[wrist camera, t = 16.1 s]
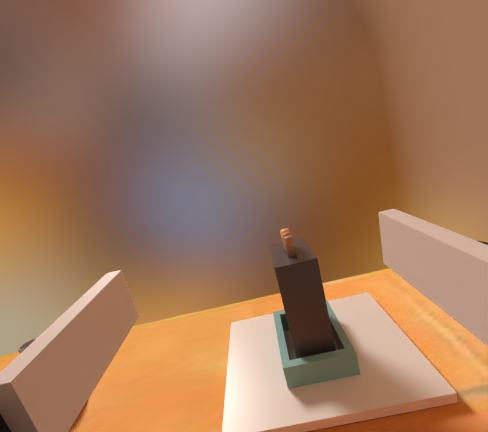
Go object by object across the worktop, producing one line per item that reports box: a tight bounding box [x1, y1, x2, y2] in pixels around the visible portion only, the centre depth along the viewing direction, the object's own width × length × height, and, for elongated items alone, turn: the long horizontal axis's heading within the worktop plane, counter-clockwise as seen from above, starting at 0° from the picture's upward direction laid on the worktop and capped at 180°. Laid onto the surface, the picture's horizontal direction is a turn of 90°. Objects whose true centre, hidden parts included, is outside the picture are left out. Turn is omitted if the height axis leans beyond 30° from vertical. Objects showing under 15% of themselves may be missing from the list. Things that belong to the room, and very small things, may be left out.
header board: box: [222, 292, 458, 432], centre depth 30 cm, size 20×16×4 cm
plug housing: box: [269, 228, 336, 359], centre depth 28 cm, size 4×6×14 cm, turn 0°
